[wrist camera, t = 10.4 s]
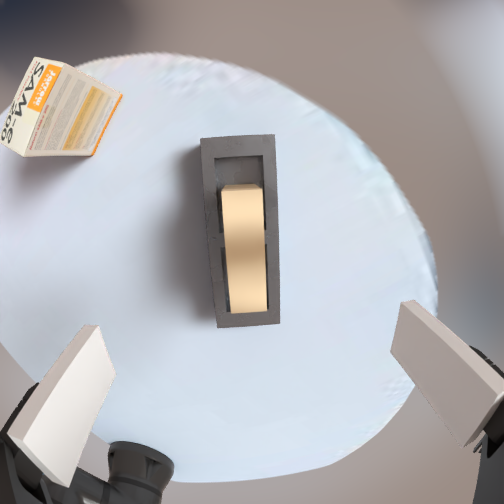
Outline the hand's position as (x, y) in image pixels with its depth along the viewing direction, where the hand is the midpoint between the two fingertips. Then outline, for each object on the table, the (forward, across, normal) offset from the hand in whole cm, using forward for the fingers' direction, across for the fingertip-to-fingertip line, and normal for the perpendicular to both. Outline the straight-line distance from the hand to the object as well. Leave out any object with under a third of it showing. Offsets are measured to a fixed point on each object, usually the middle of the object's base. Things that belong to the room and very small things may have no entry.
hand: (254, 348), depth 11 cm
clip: (+20, 0, 0) cm, 20 cm away
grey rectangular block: (+21, 0, 0) cm, 21 cm away
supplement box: (+22, -17, +15) cm, 31 cm away
